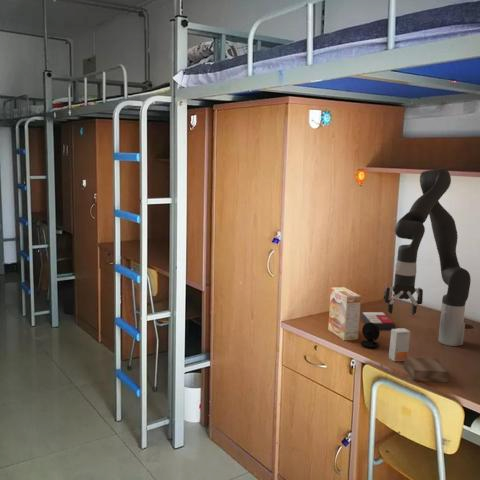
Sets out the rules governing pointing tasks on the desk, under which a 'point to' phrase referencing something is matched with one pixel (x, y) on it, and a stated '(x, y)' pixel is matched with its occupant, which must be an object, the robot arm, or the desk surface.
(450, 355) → the desk surface
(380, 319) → the red and white box
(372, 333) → the webcam
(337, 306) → the coffeecake box
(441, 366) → the walnut base
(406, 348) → the skincare box
